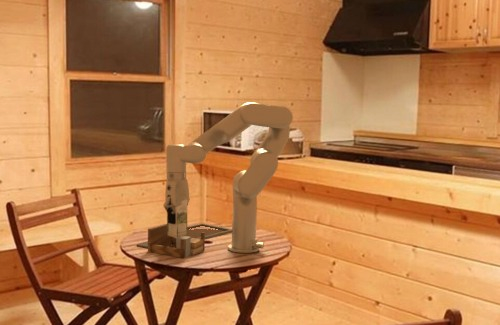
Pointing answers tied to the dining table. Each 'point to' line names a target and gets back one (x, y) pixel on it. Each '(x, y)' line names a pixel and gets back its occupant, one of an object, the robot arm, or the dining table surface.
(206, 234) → the brown framed board
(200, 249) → the offcut slab
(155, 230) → the brown wooden open box
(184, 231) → the syrup box
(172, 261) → the dining table surface
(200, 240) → the offcut slab
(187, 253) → the offcut block
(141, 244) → the mat
